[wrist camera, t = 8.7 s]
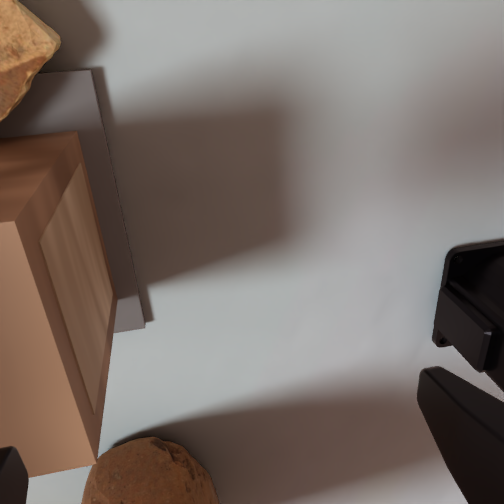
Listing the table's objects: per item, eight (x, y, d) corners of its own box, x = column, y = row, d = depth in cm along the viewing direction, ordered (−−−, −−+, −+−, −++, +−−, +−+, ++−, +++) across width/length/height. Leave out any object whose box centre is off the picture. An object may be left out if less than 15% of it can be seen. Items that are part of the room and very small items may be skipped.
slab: (78, 130, 17) (16, 220, 10) (118, 299, 21) (98, 463, 13) (-5, 138, 17) (-140, 240, 9) (52, 310, 21) (-10, 485, 13)
